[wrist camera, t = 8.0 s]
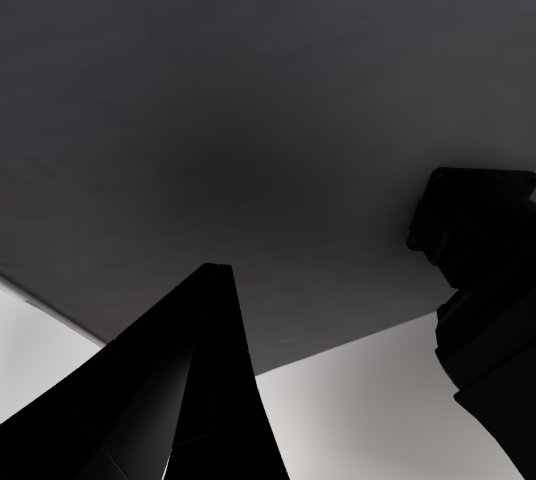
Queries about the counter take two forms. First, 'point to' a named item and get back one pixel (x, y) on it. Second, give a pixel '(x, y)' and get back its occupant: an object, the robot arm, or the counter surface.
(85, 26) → the counter surface
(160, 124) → the counter surface
